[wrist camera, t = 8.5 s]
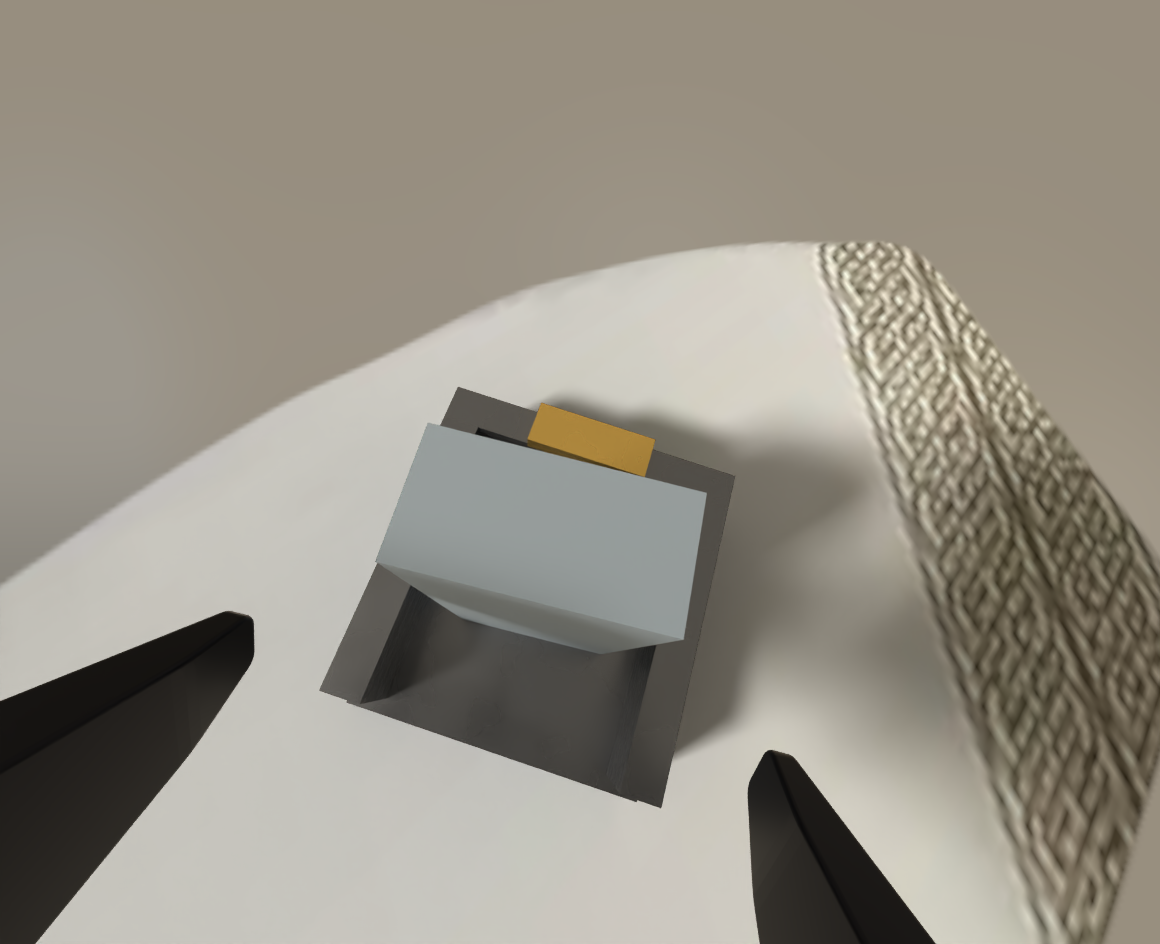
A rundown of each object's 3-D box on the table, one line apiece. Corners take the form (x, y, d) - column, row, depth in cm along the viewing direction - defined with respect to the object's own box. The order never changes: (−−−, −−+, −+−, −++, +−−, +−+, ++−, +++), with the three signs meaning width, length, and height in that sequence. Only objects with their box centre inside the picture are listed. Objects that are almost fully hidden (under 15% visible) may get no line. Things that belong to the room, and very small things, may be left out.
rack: (631, 795, 18) (661, 835, 14) (355, 700, 18) (301, 710, 14) (702, 502, 22) (743, 462, 18) (473, 427, 22) (459, 370, 18)
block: (600, 654, 19) (683, 639, 8) (462, 619, 19) (374, 561, 8) (615, 584, 20) (707, 492, 9) (483, 550, 20) (428, 422, 9)
